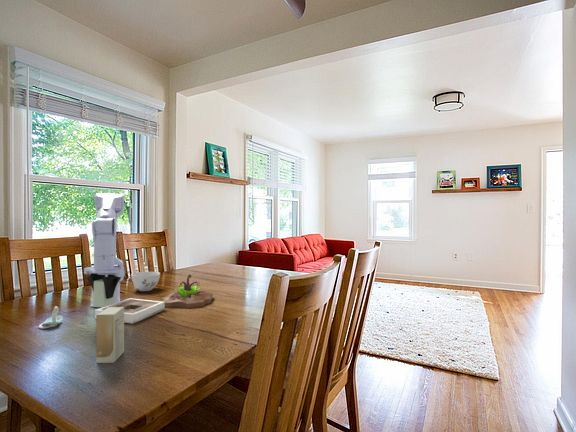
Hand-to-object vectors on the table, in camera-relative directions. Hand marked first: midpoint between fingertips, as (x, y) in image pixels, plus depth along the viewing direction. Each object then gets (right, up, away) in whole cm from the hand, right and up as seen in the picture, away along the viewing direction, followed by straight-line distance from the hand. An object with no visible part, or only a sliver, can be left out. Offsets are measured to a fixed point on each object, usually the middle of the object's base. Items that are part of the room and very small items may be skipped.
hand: (103, 297), depth 103 cm
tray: (+3, -9, +13) cm, 16 cm away
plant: (+18, -10, +30) cm, 37 cm away
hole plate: (+3, -9, +13) cm, 16 cm away
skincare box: (+14, -10, -22) cm, 28 cm away
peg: (0, -2, 0) cm, 2 cm away
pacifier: (-17, -10, 0) cm, 20 cm away
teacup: (-8, -9, +49) cm, 51 cm away
